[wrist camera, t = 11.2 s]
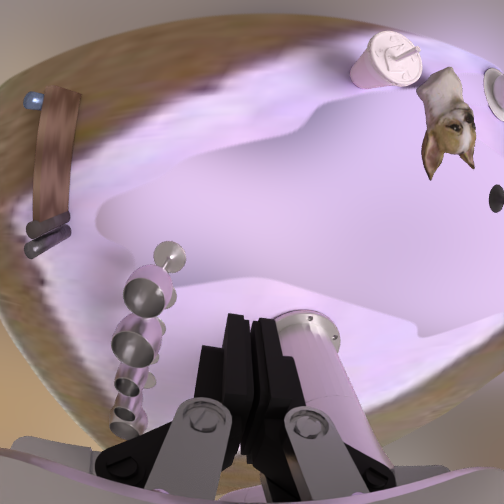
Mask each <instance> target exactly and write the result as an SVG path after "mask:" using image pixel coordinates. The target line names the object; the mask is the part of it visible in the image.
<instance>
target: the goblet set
mask: <svg viewBox="0 0 504 504" xmlns="http://www.w3.org/2000/svg"><path fill="white" fill-rule="evenodd" d="M154 261H155V264H156V265H145V266H142V267H140V268H138V269H137V270H135V271H134V272H133V273H132V274H131V276H130V277H129V279H128V280H127V282H126V285H125V287H124V290H123V299H124V302H125V304H126V306H127V308H128V309H129V310H130V311H131V312H132V313H131V314H129V315H127V316H126V317H125V318H123V319H122V320H121V321H120V323H119V324H118V326H117V327H116V329H115V331H114V334H113V337H112V341H111V347H112V351H113V353H114V355H115V356H116V357H117V358H118V359H119V360H120V361H121V364H120V365H119V367H118V370H117V372H116V376H115V381H114V385H115V388H116V389H117V391H118V392H119V393H118V395H117V398H116V400H115V405H114V406H113V407H112V409H111V411H110V415H109V427H110V429H111V431H112V432H113V433H114V434H115V435H117V436H118V437H120V438H122V439H125V440H130V439H133V438H135V437H137V436H140V435H142V434H143V433H144V432H145V430H146V428H147V425H148V418H147V415H146V413H145V411H144V410H143V408H142V402H143V394H142V389H143V388H146V389H148V388H152V387H154V386H155V385H156V379H155V377H154V375H153V374H152V373H150V372H149V365H150V364H155V363H157V362H158V360H159V354H158V353H159V350H160V348H161V344H162V336H163V335H164V334H165V331H166V327H165V324H164V322H163V321H162V320H161V319H160V318H158V317H156V316H158V315H159V314H160V313H161V312H162V311H163V310H164V309H168V308H170V307H172V306H173V305H174V304H175V302H176V299H177V294H176V290H175V288H174V287H173V285H172V280H171V277H170V275H169V274H168V273H176V272H178V271H180V270H181V269H182V268H183V267H184V265H185V263H186V254H185V251H184V249H183V248H182V247H181V246H180V245H179V244H177V243H176V242H173V241H165V242H162V243H160V244H159V245H158V246H157V247H156V248H155V251H154Z"/></svg>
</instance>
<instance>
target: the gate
mask: <svg viewBox="0 0 504 504" xmlns="http://www.w3.org/2000/svg"><path fill="white" fill-rule="evenodd" d="M81 95H82V94H80V93H77V92H74V91H71V90H67V89H64V88H61V87H58V86H54V85H52V86H46V89H45V94H44V99H43V104H42V110H41V115H40V122H39V128H38V136H37V144H36V153H35V164H34V180H33V221H32V222H29V223H28V224H27V226H26V232H27V235H28V236H29V238H31V239H35V238H37V237H39V236H41V235H43V234H45V233H47V232H49V231H51V230H53V229H55V228H57V227H59V226H61V225H63V224H65V223H67V222H69V220H70V213H69V211H68V201H69V183H70V170H71V159H72V150H73V142H74V135H75V128H76V122H77V116H78V110H79V105H80V100H81Z"/></svg>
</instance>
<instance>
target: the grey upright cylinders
mask: <svg viewBox="0 0 504 504" xmlns="http://www.w3.org/2000/svg"><path fill="white" fill-rule="evenodd" d="M43 99H44V94H41V93H36V92H29V93H28V94H27V95H26V96H25V98H24V101H23V105H24V107H25V108H26V109H33V110H40V111H41V110H42V104H43ZM70 236H71V228H70V227H69V226H68V225H66V224H64V225H62V226H60V227H58V228H56V229H54V230H52V231H50V232H48V233H46V234H44V235H42V236H40V237H38V238H36V239H34V240H32V241H30V242H28V243H26V244H25V246H24V252H25V254H26V256H27V257H28V258H29V259H33V258H35V257H37V256H38V255H40V254H42V253H43V252H45V251H46V250H48V249H50V248H52V247H53V246H55V245H57V244H58V243H60V242H62V241H64V240H65V239H67V238H69V237H70Z"/></svg>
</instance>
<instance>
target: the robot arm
mask: <svg viewBox="0 0 504 504" xmlns="http://www.w3.org/2000/svg"><path fill="white" fill-rule="evenodd" d="M308 316H309V317H308ZM340 341H341V339H340V334H339V331H338V329H337V327H336V325H335V324H334V322H333V321H332V320H331V319H330V318H329V317H327V316H325V315H324V314H322V313H319V312H316V311H310V310H299V311H293V312H289V313H286V314H283V315H281V316H279V317H278V318H276V319H266V318H259V320H258V321H253V323H252V327H251V332H250V326H249V320H244V315H238V314H231V313H228V317H227V323H226V328H225V334H224V340H223V345H222V348H218V347H211V346H205V345H202V350H201V356H200V362H199V368H198V374H197V380H196V387H195V393H194V398H192V399H189V400H186V401H185V402H183V403H182V404H181V405H180V406H179V408H178V409H177V412H176V414H175V416H174V419H173V421H171V422H169V423H167V424H165V425H163V426H160V427H158V428H156V429H154V430H151V431H149V432H147V433H145V434H142V435H140V436H137V437H135V438H133V439H130V440H128V441H125V442H123V443H120V444H118V445H115V446H113V447H110V448H108V449H106V450H104V451H102V452H99V451H92V449H91V447H83V446H77V445H71V444H65V443H59V442H55V441H50V440H45V439H41V438H37V437H32V436H24V437H20V438H18V439H17V440H16V441H14V443H13V445H12V446H11V449H6V448H0V504H504V470H502V469H499V468H495V467H470V468H463V469H459V470H454V471H450V470H449V469H448V468H447V467H444V466H442V465H428V466H394V465H393V464H392V462H391V461H390V459H389V458H388V456H387V455H386V454H385V452H384V451H383V449H382V447H381V445H380V444H379V442H378V440H377V438H376V436H375V434H374V433H373V431H372V428H371V426H370V424H369V422H368V420H367V418H366V415H365V413H364V411H363V409H362V407H361V404H360V402H359V400H358V397H357V395H356V393H355V391H354V389H353V386H352V384H351V382H350V380H349V377H348V375H347V373H346V371H345V369H344V367H343V364H342V362H341V360H340V358H339V356H338V352H339V348H340ZM239 445H241V455H247V464H253V467H255V468H256V469H257V470H259V471H260V480H261V484H262V485H259V486H254V487H250V488H245V489H240V490H236V491H233V492H230V493H228V494H226V495H224V496H222V497H221V498H220V499H219V500H218V501H215V495H216V491H217V487H218V482H219V478H220V474H221V472H222V471H223V470H225V469H226V468H228V467H229V466H231V465H232V463H233V460H234V456H235V454H237V451H238V448H239Z"/></svg>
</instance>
